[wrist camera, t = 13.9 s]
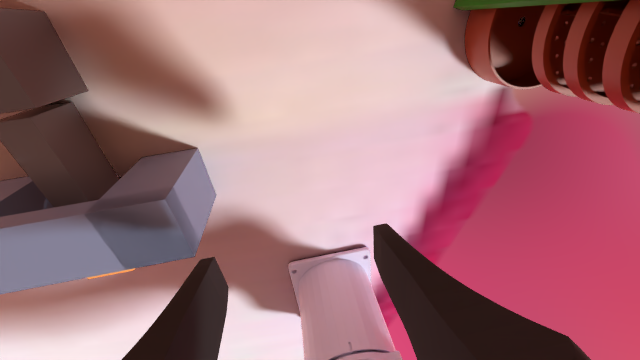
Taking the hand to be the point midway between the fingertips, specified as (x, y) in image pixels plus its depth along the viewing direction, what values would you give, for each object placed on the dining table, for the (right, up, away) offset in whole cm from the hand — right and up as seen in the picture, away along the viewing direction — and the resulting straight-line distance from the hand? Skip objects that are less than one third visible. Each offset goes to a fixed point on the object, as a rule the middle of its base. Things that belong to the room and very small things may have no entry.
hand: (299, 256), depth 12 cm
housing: (-14, +3, +7) cm, 16 cm away
